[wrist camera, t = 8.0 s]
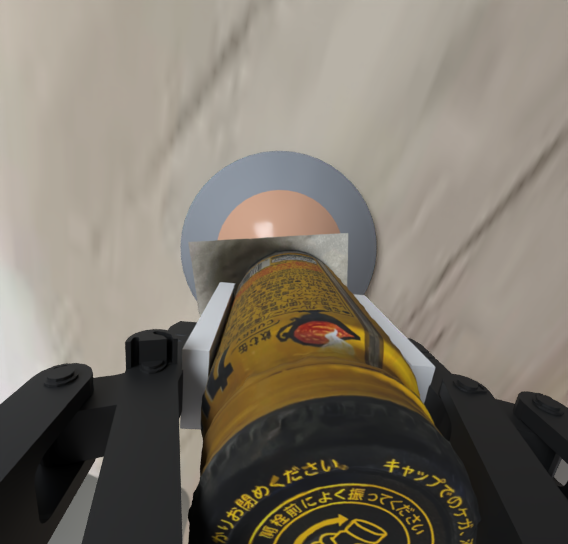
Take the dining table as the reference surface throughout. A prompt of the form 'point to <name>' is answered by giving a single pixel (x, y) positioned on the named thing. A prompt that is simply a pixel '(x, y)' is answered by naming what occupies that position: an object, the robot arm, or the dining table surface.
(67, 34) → the dining table surface
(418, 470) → the condiment
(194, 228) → the ring stand
